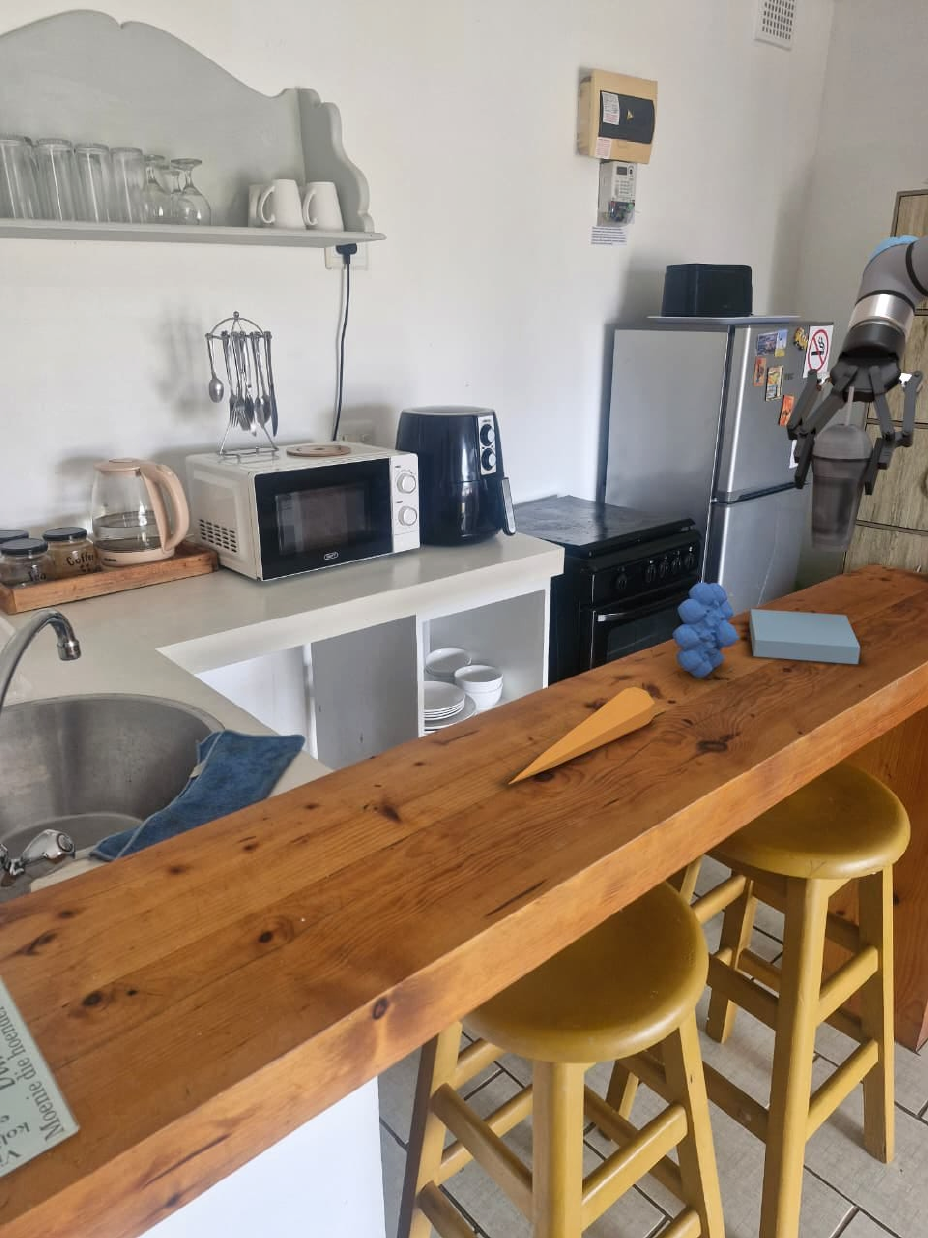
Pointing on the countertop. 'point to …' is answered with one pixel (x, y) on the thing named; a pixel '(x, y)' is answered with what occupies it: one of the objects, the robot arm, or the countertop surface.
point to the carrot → (598, 729)
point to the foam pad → (803, 636)
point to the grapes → (704, 629)
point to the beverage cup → (838, 482)
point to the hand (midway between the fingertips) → (832, 485)
